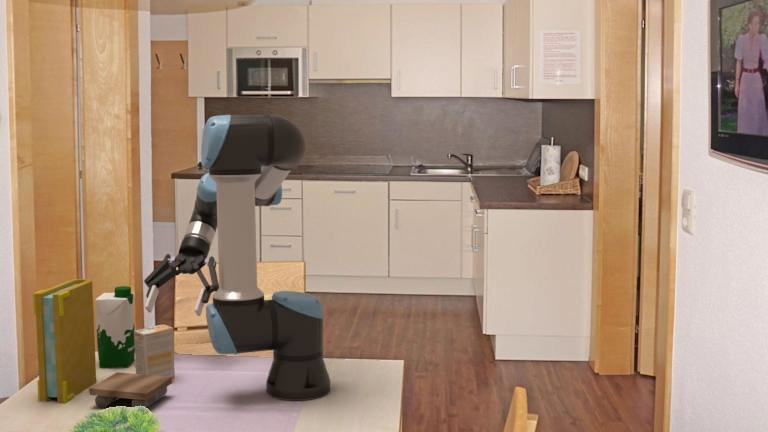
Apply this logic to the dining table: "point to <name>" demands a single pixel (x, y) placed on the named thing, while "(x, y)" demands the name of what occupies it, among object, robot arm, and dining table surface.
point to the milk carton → (115, 328)
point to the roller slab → (130, 389)
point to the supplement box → (155, 351)
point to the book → (65, 339)
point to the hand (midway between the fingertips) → (172, 311)
